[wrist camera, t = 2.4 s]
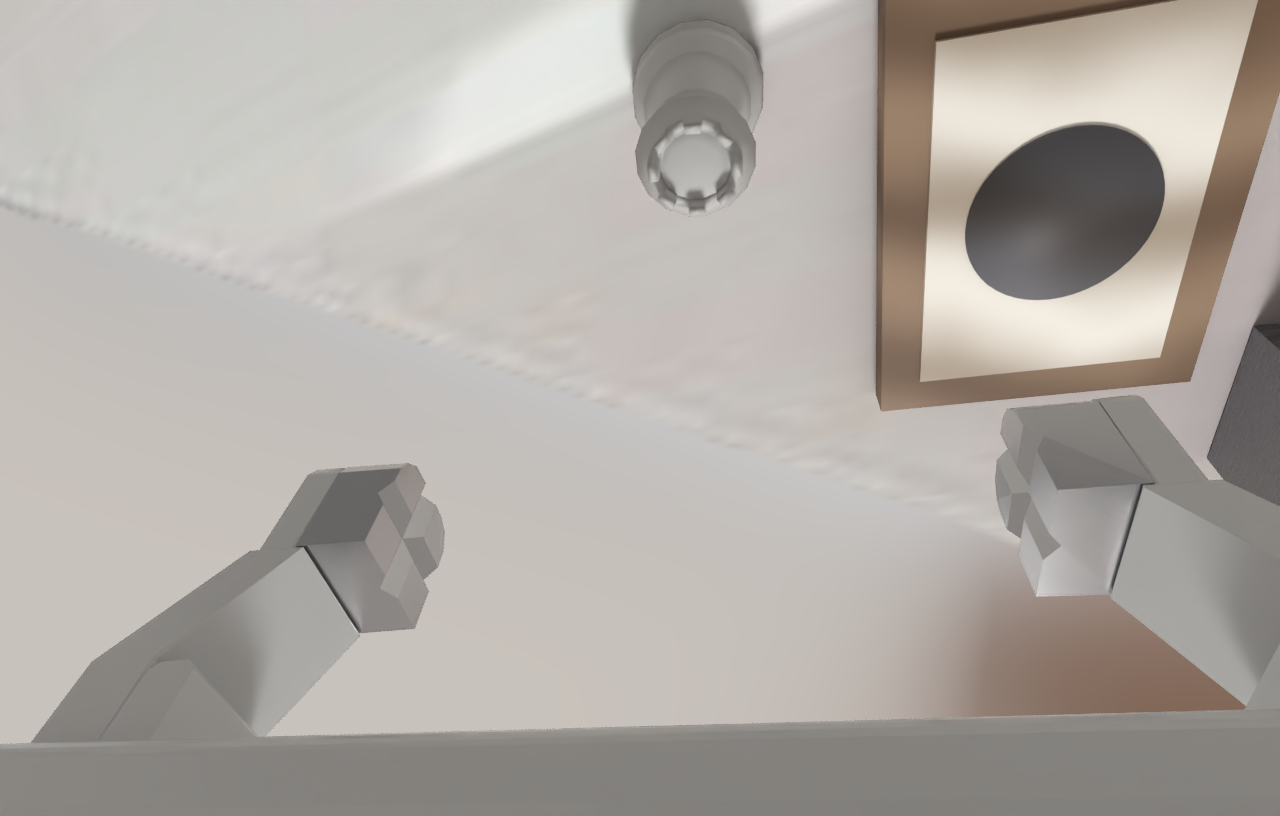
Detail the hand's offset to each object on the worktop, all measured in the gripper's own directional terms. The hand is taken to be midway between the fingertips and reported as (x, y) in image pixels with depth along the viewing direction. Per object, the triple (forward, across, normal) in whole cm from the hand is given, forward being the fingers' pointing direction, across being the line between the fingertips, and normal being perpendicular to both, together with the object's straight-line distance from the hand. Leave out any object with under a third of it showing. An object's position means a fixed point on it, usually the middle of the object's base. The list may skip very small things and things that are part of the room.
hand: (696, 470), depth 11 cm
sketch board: (+20, -12, +6) cm, 23 cm away
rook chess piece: (+20, 0, 0) cm, 20 cm away
